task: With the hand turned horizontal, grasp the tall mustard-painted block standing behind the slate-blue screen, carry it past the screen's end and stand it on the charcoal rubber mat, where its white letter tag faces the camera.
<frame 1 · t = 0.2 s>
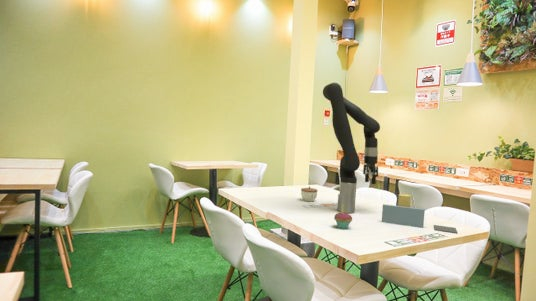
hand: (370, 183, 205), 17 cm above the table, tool pointing down, fingers open, 8 cm apart
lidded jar: (308, 201, 232), on the table
screen: (402, 224, 181), on the table
mat: (445, 229, 175), on the table
letter block: (402, 221, 188), on the table
cupcake: (342, 227, 168), on the table
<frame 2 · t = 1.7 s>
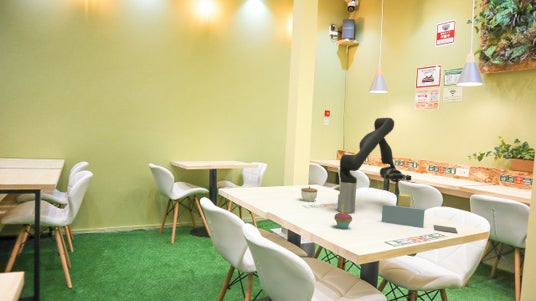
hand: (400, 178, 198), 22 cm above the table, tool horizontal, fingers open, 8 cm apart
nothing on the table moved.
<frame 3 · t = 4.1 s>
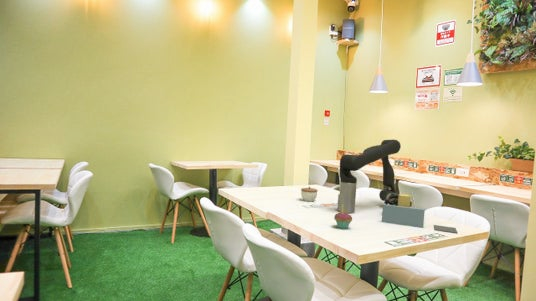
hand: (400, 204, 194), 8 cm above the table, tool horizontal, fingers open, 8 cm apart
nothing on the table moved.
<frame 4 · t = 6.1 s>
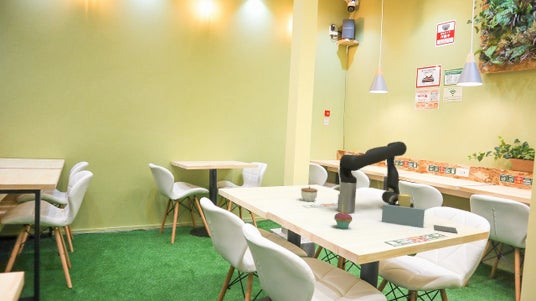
hand: (405, 208, 185), 8 cm above the table, tool horizontal, fingers closed on letter block, 5 cm apart
letter block: (402, 221, 188), on the table, touching gripper
everything else where it was.
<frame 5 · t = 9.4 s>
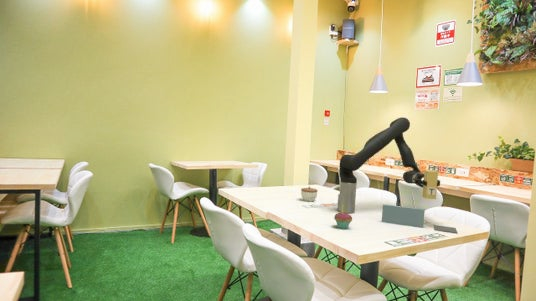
hand: (432, 184, 177), 22 cm above the table, tool horizontal, fingers closed on letter block, 5 cm apart
letter block: (429, 197, 180), point 14 cm above the table, touching gripper
everything else where it was.
when the fingers open (9 cm above the table, at t = 13.0 s): letter block drops 1 cm, resting on mat.
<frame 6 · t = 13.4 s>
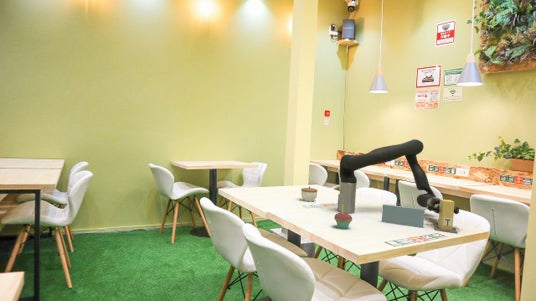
hand: (448, 211, 172), 10 cm above the table, tool horizontal, fingers open, 8 cm apart
letter block: (445, 228, 175), resting on mat
everything else where it was.
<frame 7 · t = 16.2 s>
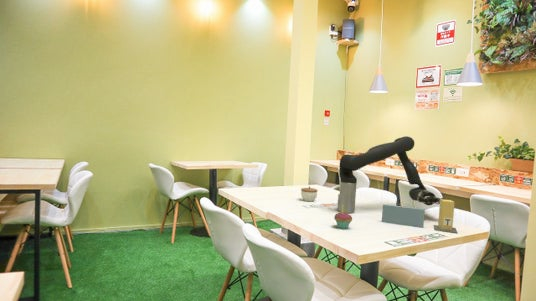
hand: (436, 202, 185), 11 cm above the table, tool horizontal, fingers open, 8 cm apart
nothing on the table moved.
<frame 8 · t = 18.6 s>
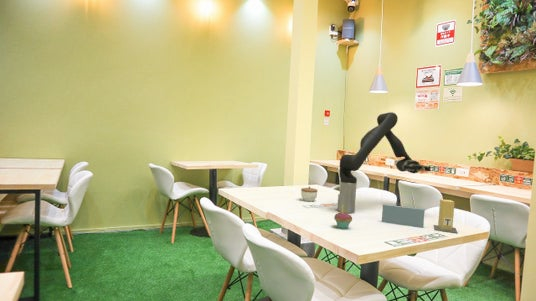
hand: (420, 168, 195), 28 cm above the table, tool horizontal, fingers open, 8 cm apart
nothing on the table moved.
at the end: letter block inside the target area on the mat (0.1 cm from its centre), point 0.5 cm above the mat's base; letter block tilted 0°; the gripper is holding nothing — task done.
